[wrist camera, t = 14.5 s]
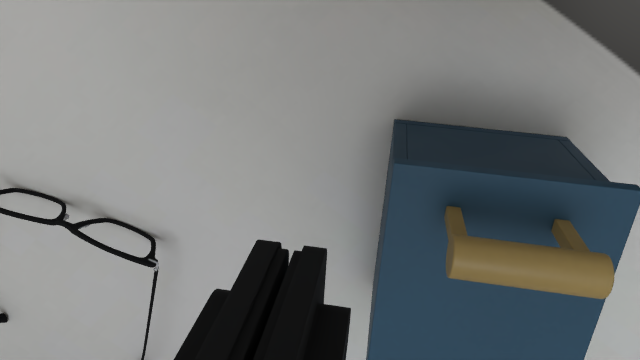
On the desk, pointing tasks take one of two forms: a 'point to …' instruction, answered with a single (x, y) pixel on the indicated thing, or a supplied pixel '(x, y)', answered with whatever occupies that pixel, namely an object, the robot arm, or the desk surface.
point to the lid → (495, 263)
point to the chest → (481, 157)
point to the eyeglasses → (90, 241)
